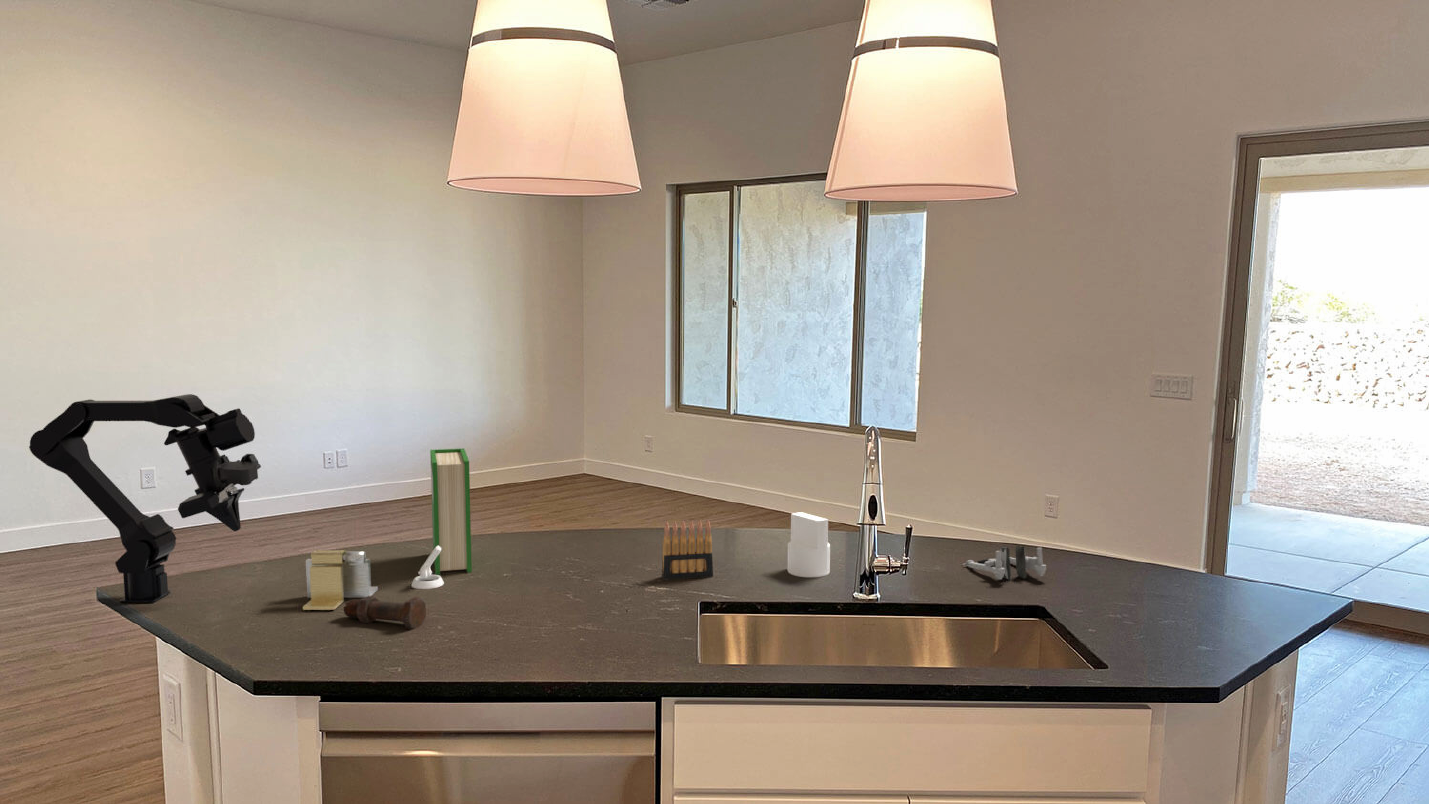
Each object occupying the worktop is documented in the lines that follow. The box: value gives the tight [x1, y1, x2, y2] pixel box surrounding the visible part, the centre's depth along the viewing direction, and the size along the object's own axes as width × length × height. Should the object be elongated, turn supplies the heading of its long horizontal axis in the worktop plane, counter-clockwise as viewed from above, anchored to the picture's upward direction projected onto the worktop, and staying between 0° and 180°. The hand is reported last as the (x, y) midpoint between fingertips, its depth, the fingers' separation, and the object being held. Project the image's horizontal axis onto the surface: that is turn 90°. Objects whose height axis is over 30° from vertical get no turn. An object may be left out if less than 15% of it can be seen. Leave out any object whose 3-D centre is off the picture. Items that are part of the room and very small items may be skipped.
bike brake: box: [962, 544, 1047, 581], centre depth 212 cm, size 14×7×20 cm
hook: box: [411, 545, 445, 590], centre depth 200 cm, size 6×10×6 cm
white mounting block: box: [305, 550, 379, 599], centre depth 192 cm, size 12×8×10 cm
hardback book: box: [429, 448, 473, 576], centre depth 215 cm, size 18×7×24 cm, turn 17°
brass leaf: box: [302, 549, 347, 611], centre depth 186 cm, size 6×7×10 cm
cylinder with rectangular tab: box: [787, 511, 831, 578], centre depth 211 cm, size 9×9×12 cm
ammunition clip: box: [661, 519, 714, 581], centre depth 206 cm, size 11×2×12 cm, turn 102°
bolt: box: [343, 595, 427, 630], centre depth 177 cm, size 6×5×15 cm
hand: (237, 530), depth 192 cm, fingers closed
